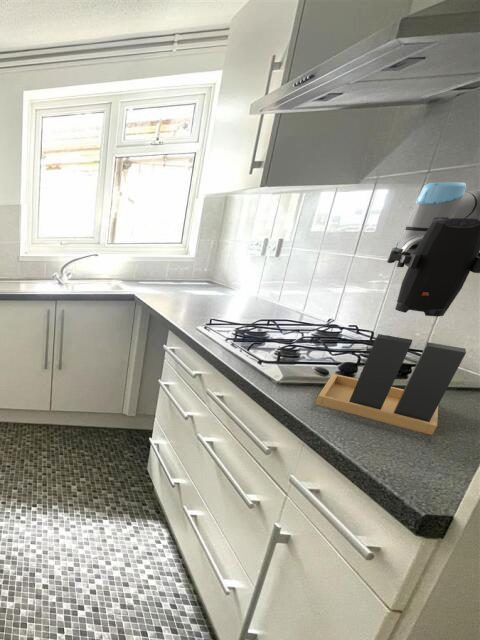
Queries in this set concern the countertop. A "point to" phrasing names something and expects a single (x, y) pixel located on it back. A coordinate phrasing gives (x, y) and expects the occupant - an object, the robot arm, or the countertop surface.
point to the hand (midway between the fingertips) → (446, 263)
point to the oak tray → (339, 396)
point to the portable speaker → (440, 266)
